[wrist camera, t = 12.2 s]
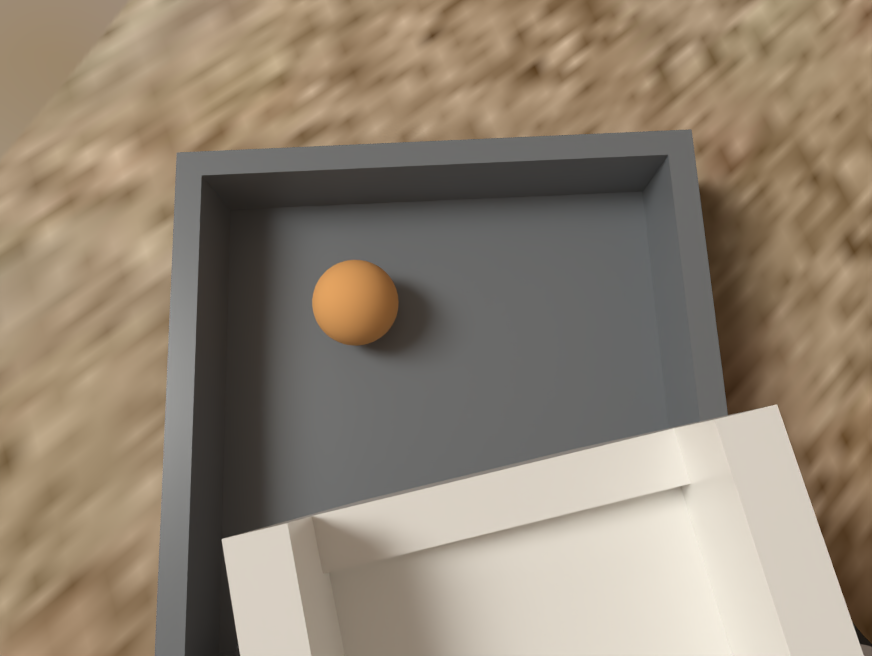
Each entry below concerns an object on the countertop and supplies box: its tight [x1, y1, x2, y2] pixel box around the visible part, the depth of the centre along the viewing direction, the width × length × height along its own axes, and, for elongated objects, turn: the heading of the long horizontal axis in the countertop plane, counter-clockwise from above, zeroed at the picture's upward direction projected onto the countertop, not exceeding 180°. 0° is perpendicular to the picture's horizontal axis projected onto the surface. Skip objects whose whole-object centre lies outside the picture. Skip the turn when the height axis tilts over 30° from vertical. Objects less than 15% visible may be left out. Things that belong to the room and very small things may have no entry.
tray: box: [155, 130, 728, 656], centre depth 26 cm, size 20×20×4 cm
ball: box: [312, 260, 399, 346], centre depth 27 cm, size 3×3×3 cm
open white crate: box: [222, 405, 864, 656], centre depth 10 cm, size 5×5×10 cm
